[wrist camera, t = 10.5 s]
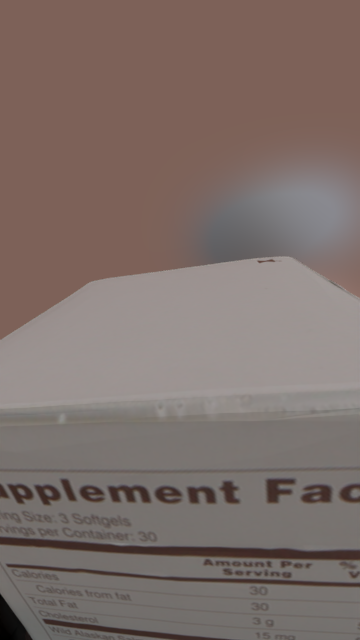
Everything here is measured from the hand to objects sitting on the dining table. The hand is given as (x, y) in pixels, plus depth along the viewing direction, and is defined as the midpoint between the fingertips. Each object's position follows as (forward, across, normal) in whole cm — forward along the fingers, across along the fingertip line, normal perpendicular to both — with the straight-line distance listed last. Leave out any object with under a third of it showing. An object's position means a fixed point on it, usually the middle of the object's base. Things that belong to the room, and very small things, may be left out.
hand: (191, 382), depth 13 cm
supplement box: (-5, 0, -7) cm, 9 cm away
